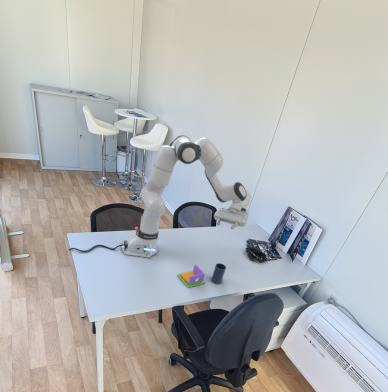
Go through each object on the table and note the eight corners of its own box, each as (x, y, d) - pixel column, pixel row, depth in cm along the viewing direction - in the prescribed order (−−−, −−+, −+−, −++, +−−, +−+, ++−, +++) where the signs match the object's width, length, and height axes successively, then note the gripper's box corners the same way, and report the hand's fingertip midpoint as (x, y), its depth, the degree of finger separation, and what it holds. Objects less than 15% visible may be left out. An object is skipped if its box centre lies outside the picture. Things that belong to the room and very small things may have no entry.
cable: (241, 249, 212) (243, 244, 209) (257, 249, 217) (259, 244, 215) (252, 262, 200) (254, 257, 197) (268, 262, 205) (271, 257, 202)
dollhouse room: (204, 283, 170) (207, 274, 166) (188, 287, 163) (190, 278, 159) (193, 271, 177) (196, 262, 173) (177, 275, 170) (179, 266, 166)
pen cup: (213, 283, 171) (217, 269, 165) (210, 277, 176) (214, 263, 170) (222, 283, 174) (227, 269, 167) (219, 277, 178) (224, 263, 172)
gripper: (219, 203, 177) (208, 218, 171) (250, 210, 168) (240, 226, 162) (220, 211, 182) (210, 226, 176) (250, 219, 173) (240, 234, 167)
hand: (224, 226), depth 169 cm, fingers open, 8 cm apart
